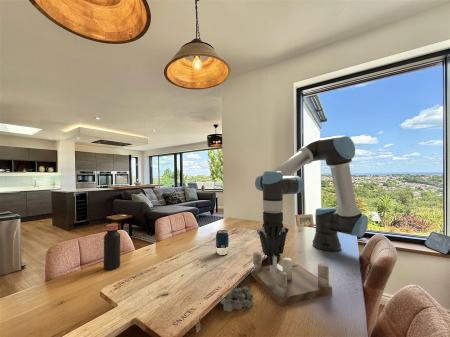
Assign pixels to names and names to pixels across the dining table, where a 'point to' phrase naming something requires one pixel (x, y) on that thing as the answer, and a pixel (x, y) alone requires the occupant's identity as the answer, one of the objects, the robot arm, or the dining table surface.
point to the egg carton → (241, 301)
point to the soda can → (222, 239)
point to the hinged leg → (286, 267)
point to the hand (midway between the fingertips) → (273, 272)
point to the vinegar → (112, 247)
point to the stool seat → (292, 282)
